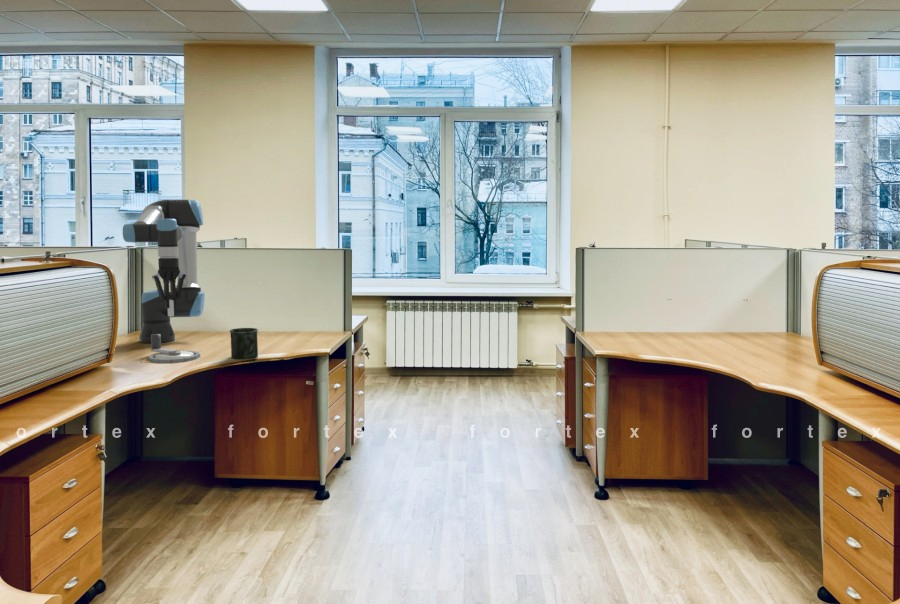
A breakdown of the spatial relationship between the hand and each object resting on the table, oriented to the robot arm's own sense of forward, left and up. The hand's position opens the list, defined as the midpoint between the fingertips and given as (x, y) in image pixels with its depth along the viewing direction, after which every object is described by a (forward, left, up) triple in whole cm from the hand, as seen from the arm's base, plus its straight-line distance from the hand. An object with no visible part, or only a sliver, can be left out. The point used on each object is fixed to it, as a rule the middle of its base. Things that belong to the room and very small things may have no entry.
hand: (170, 316), depth 286 cm
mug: (+27, +19, -17) cm, 37 cm away
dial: (+8, -4, -15) cm, 17 cm away
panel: (+10, -3, -16) cm, 20 cm away
